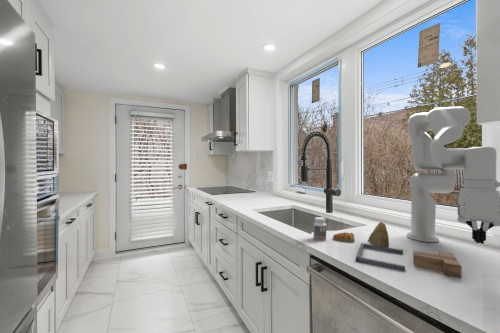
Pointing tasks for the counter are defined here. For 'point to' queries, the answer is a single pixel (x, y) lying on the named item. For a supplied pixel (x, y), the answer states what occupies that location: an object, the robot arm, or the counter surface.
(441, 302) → the counter surface
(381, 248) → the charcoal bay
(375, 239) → the rock
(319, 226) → the pill bottle
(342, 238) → the pastry
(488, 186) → the robot arm
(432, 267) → the t block
